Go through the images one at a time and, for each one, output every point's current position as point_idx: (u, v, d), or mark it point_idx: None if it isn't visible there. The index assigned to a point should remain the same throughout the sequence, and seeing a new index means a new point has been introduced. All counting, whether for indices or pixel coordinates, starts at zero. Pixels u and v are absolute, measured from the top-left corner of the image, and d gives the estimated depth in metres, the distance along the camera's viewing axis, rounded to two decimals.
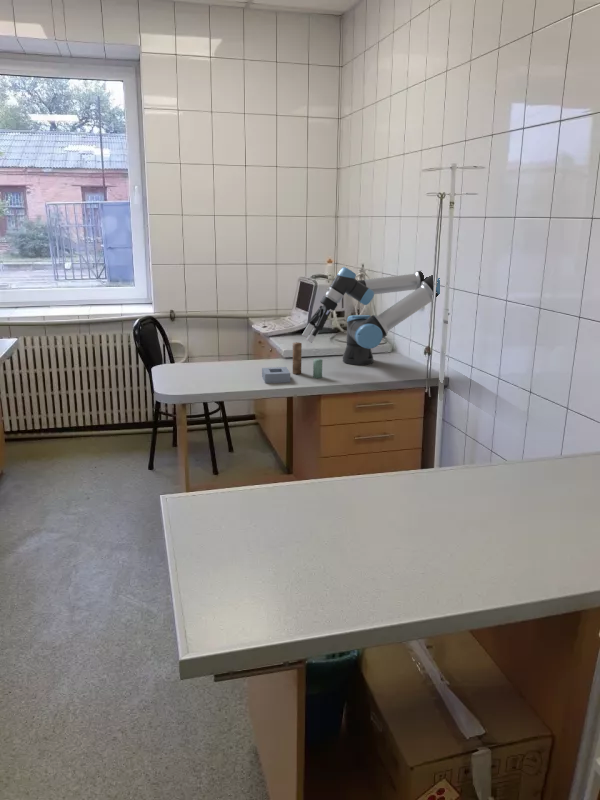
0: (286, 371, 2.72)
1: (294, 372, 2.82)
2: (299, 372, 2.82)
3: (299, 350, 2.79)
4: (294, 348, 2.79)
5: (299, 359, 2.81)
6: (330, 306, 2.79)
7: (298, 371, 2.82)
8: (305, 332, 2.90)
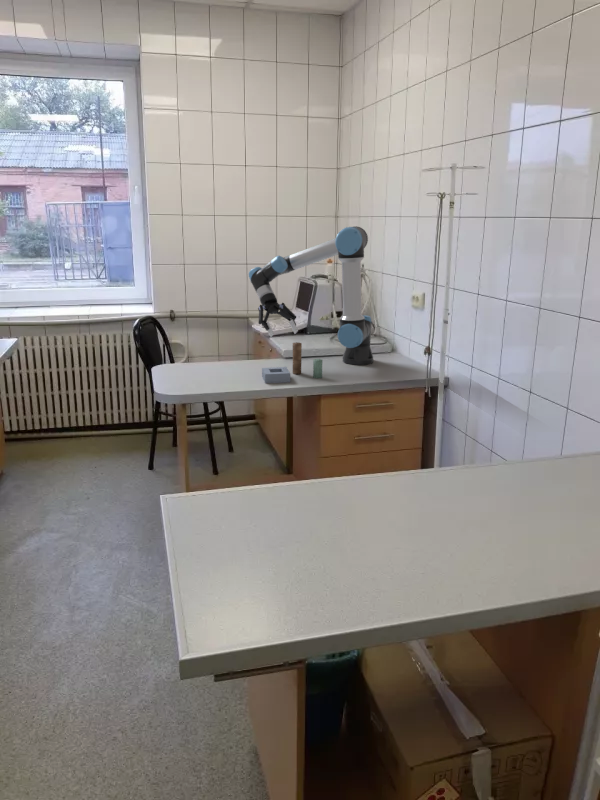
0: (286, 371, 2.72)
1: (294, 372, 2.82)
2: (299, 372, 2.82)
3: (299, 350, 2.79)
4: (294, 348, 2.79)
5: (299, 359, 2.81)
6: (263, 302, 2.90)
7: (298, 371, 2.82)
8: (293, 329, 2.92)
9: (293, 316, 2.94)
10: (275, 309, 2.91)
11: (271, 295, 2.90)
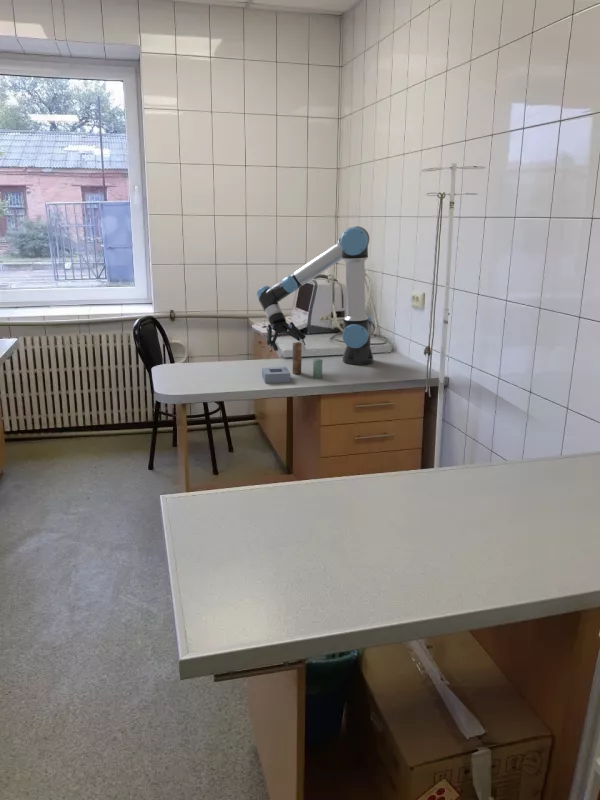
0: (286, 371, 2.72)
1: (294, 372, 2.82)
2: (299, 372, 2.82)
3: (299, 350, 2.79)
4: (294, 348, 2.79)
5: (299, 359, 2.81)
6: (271, 322, 2.86)
7: (298, 371, 2.82)
8: (302, 349, 2.87)
9: (302, 335, 2.89)
10: (284, 329, 2.86)
11: (280, 315, 2.86)
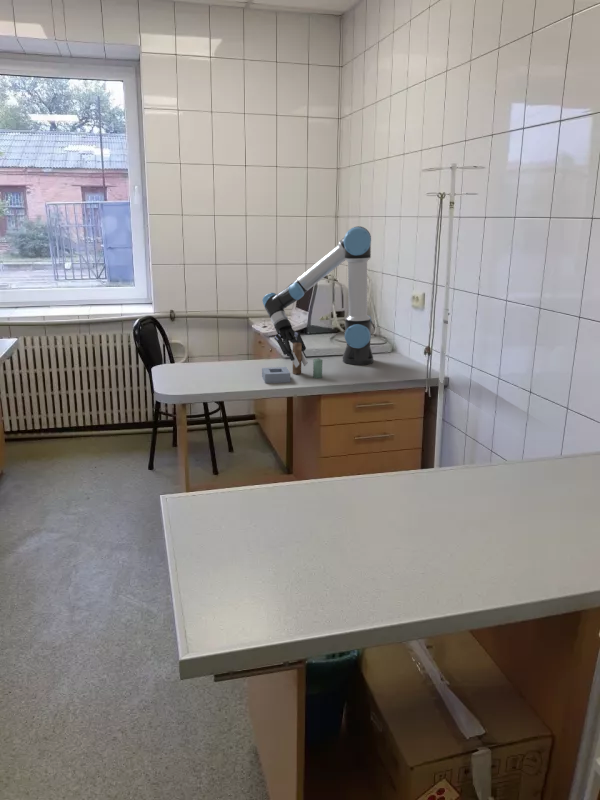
0: (286, 371, 2.72)
1: (294, 372, 2.82)
2: (299, 372, 2.82)
3: (299, 350, 2.79)
4: (294, 348, 2.79)
5: (299, 359, 2.81)
6: (277, 329, 2.84)
7: (298, 371, 2.82)
8: (303, 361, 2.82)
9: (303, 347, 2.84)
10: (290, 336, 2.84)
11: (286, 321, 2.84)
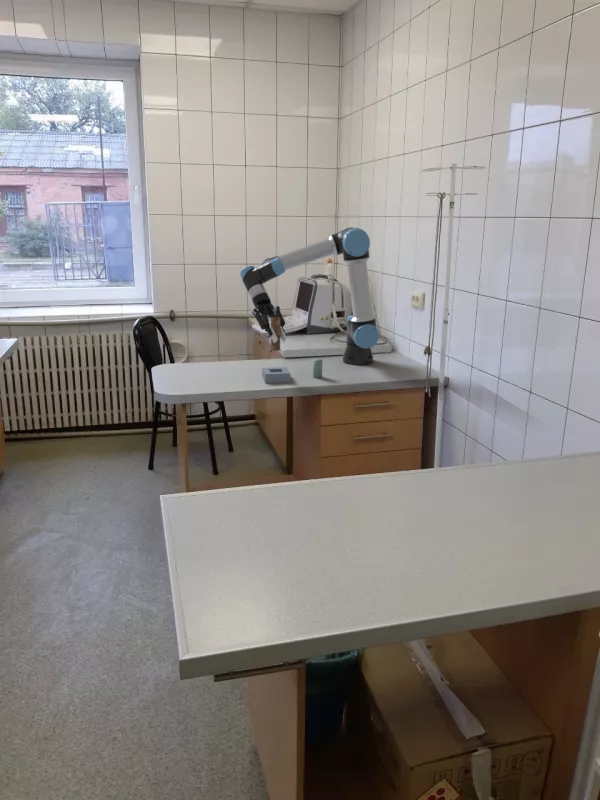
0: (286, 371, 2.72)
1: (272, 348, 2.69)
2: (278, 348, 2.69)
3: (277, 325, 2.65)
4: (272, 323, 2.65)
5: (278, 334, 2.67)
6: (255, 303, 2.70)
7: (276, 347, 2.68)
8: (282, 337, 2.68)
9: (282, 322, 2.71)
10: (268, 310, 2.70)
11: (264, 295, 2.70)
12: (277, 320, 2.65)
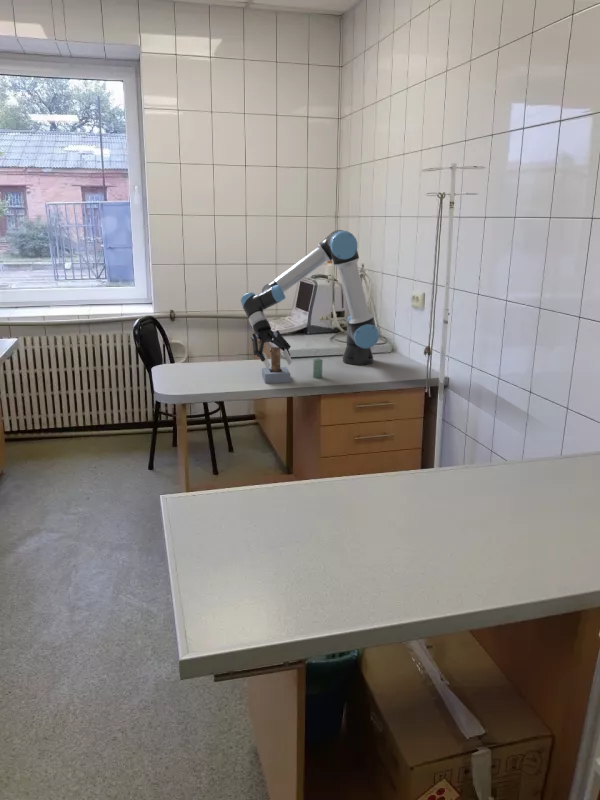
0: (286, 371, 2.72)
1: None
2: None
3: (278, 355, 2.69)
4: (272, 353, 2.69)
5: (278, 365, 2.71)
6: (256, 330, 2.74)
7: None
8: (287, 360, 2.74)
9: (287, 345, 2.76)
10: (269, 337, 2.74)
11: (264, 322, 2.74)
12: (277, 351, 2.69)
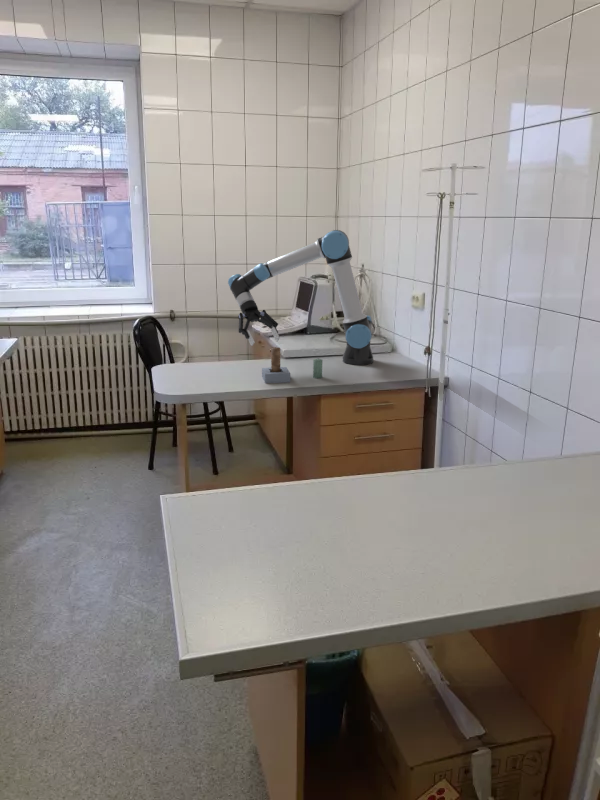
0: (286, 371, 2.72)
1: None
2: None
3: (278, 355, 2.69)
4: (272, 353, 2.69)
5: (278, 365, 2.71)
6: (243, 310, 2.82)
7: None
8: (275, 337, 2.83)
9: (275, 323, 2.86)
10: (256, 317, 2.82)
11: (251, 302, 2.82)
12: (277, 351, 2.69)
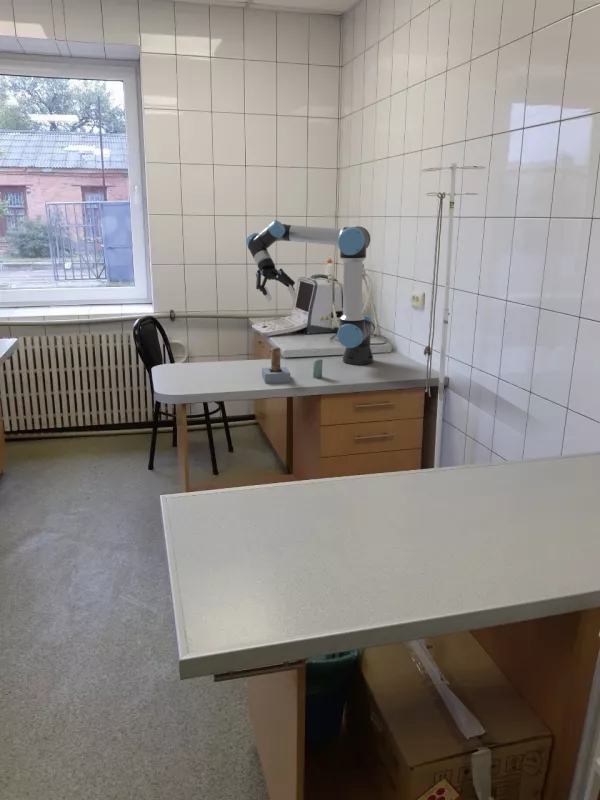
0: (286, 371, 2.72)
1: None
2: None
3: (278, 355, 2.69)
4: (272, 353, 2.69)
5: (278, 365, 2.71)
6: (260, 268, 2.86)
7: None
8: (291, 295, 2.87)
9: (291, 282, 2.89)
10: (273, 274, 2.86)
11: (269, 260, 2.86)
12: (277, 351, 2.69)
